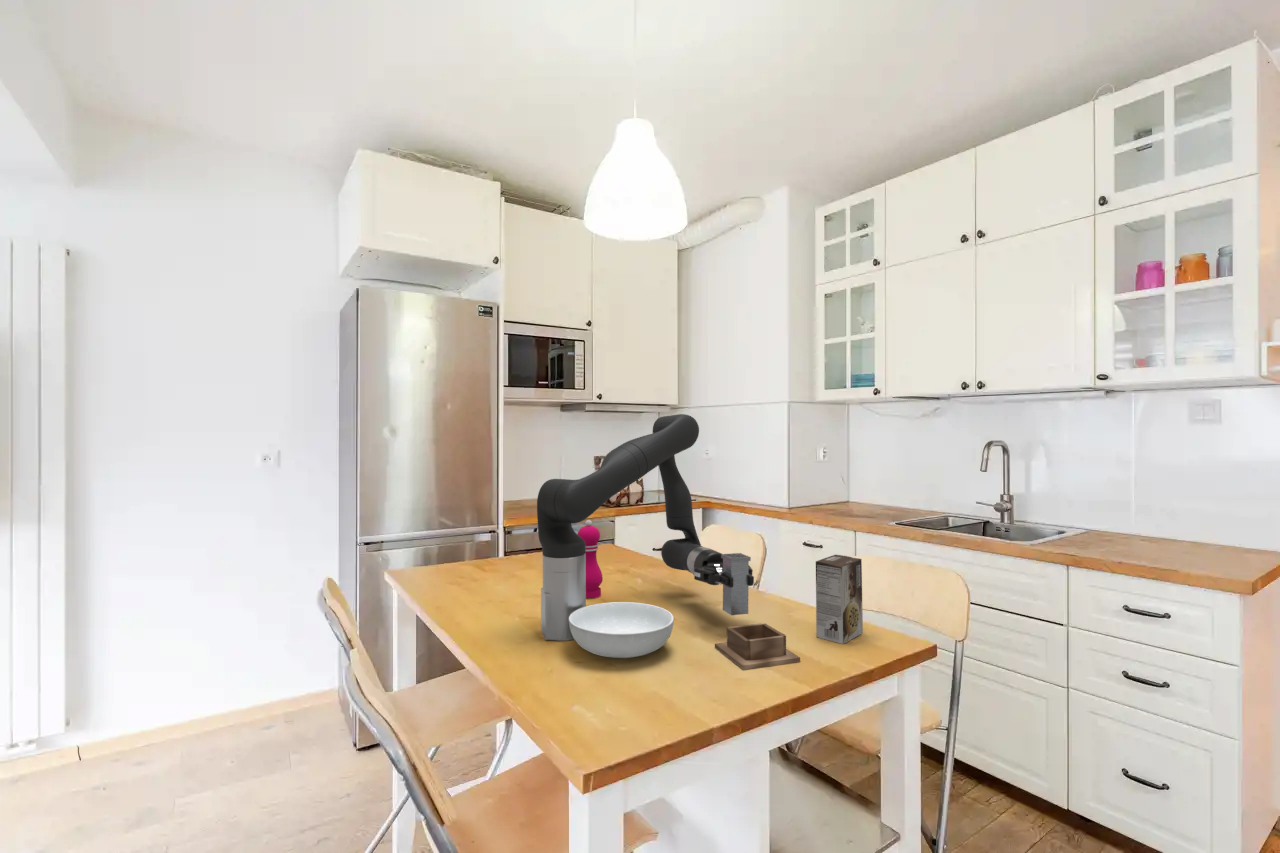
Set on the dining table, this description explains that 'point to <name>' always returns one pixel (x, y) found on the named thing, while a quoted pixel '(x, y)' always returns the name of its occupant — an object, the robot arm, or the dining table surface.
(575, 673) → the dining table surface
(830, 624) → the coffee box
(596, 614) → the serving bowl
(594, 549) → the pepper mill
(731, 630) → the box
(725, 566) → the grey square peg
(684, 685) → the dining table surface
